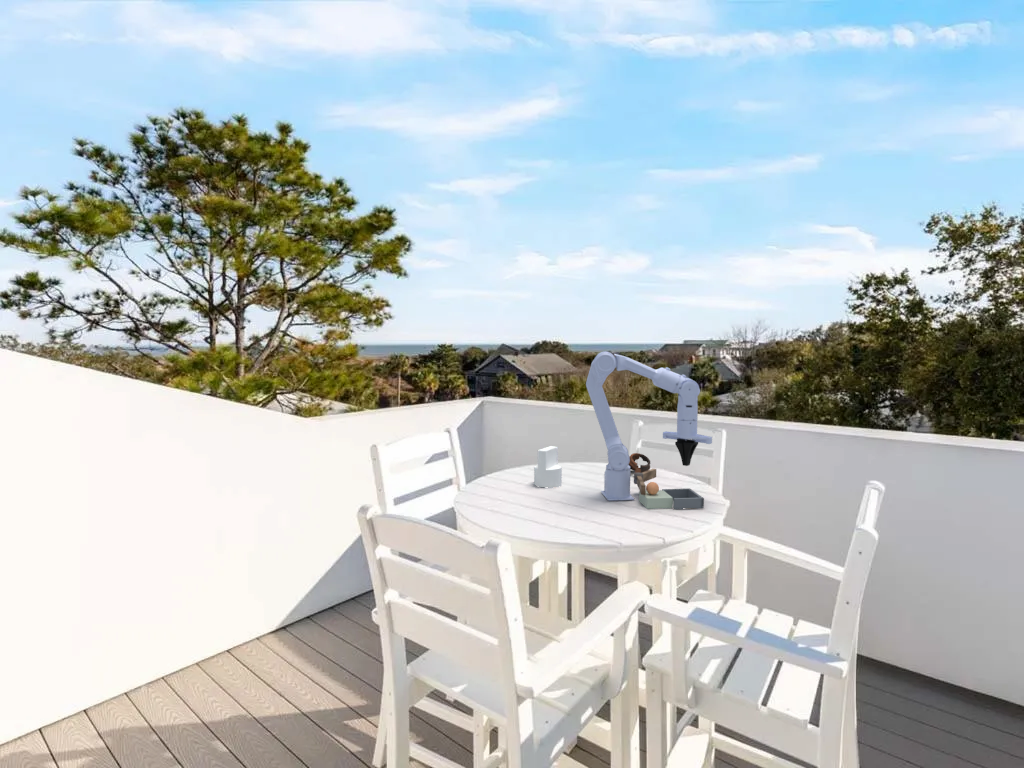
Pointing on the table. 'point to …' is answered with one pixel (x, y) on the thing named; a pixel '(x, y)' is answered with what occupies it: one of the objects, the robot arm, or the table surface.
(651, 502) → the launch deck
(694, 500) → the tray
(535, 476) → the base with upright slab
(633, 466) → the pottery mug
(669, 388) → the robot arm
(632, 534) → the table surface
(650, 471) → the flipper lever
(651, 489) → the ball
